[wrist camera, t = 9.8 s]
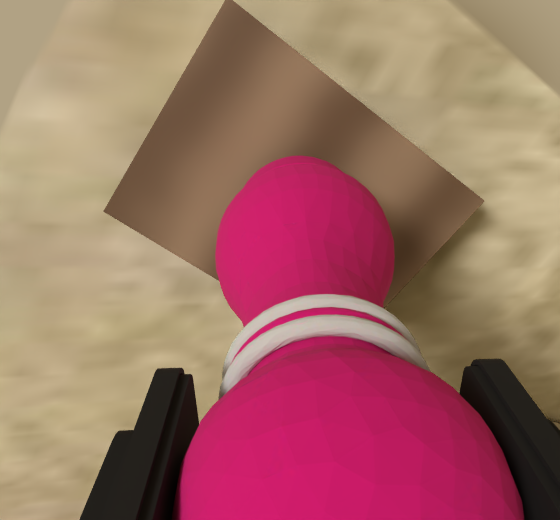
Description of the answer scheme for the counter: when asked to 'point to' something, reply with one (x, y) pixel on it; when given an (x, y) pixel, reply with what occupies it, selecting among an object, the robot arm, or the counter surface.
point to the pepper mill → (329, 375)
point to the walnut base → (275, 149)
